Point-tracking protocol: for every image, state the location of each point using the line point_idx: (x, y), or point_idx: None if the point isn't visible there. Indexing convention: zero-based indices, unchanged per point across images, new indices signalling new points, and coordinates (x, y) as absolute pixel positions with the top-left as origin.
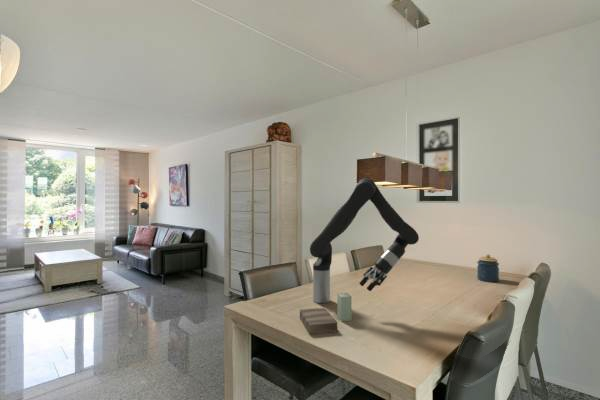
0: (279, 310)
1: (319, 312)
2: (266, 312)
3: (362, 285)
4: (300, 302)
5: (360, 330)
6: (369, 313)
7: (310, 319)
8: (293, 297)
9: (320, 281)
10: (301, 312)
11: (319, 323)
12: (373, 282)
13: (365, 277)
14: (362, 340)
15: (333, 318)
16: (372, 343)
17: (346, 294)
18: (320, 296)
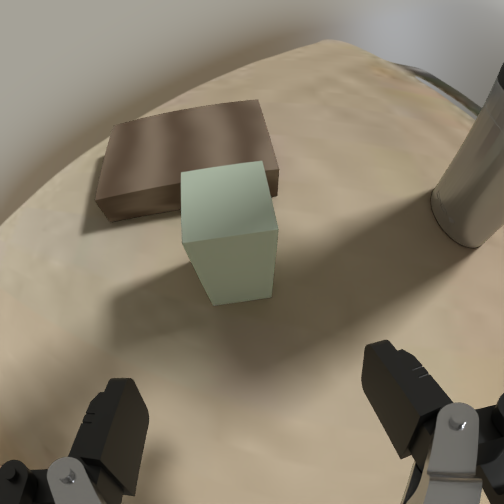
0: (328, 91)
1: (215, 147)
2: (307, 72)
3: (366, 385)
4: (419, 145)
5: (98, 313)
6: (311, 431)
7: (151, 124)
8: (455, 138)
9: (477, 132)
10: (227, 103)
11: (109, 148)
12: (62, 464)
13: (430, 435)
14: (36, 291)
15: (133, 190)
16: (16, 316)
17: (237, 215)
18: (444, 185)
